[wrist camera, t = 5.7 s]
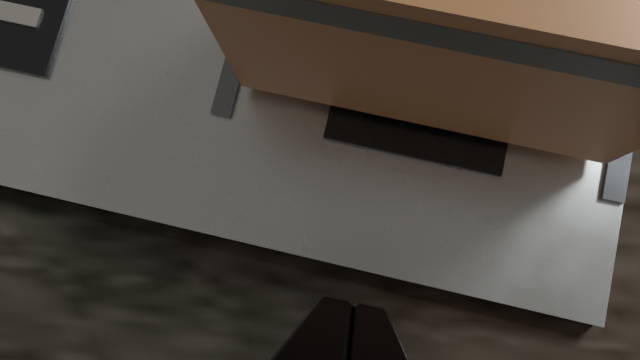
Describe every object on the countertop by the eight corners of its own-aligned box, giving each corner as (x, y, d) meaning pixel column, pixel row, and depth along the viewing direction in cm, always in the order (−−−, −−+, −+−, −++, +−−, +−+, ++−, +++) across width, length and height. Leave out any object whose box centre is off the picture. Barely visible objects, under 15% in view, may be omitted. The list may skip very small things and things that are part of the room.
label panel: (593, 325, 19) (608, 328, 18) (-227, 131, 22) (-257, 124, 21) (655, -61, 22) (671, -78, 21) (-100, -197, 24) (-121, -219, 23)
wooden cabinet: (607, 165, 19) (793, 83, 11) (239, 87, 20) (168, -40, 12) (627, 45, 19) (815, -115, 12) (269, -25, 20) (220, -216, 13)
